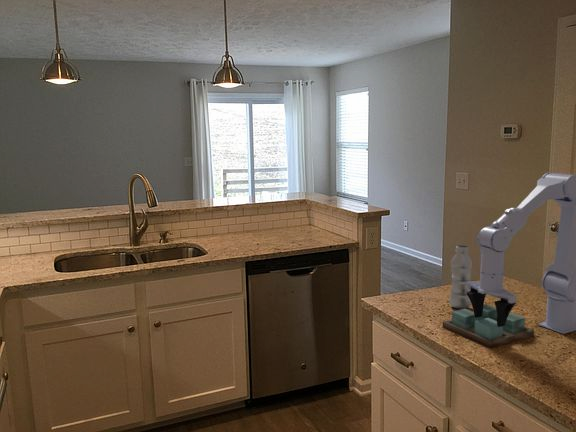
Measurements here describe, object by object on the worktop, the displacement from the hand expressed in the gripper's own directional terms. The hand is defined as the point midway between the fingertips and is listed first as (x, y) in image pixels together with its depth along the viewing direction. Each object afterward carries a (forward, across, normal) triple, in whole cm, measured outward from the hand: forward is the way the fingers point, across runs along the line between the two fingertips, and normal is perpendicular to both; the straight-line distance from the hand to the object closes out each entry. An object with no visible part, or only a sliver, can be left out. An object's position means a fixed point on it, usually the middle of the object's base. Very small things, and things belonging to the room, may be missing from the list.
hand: (489, 321), depth 138 cm
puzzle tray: (+5, -4, +4) cm, 8 cm away
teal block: (+4, 0, 0) cm, 4 cm away
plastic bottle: (+5, -22, +12) cm, 26 cm away
